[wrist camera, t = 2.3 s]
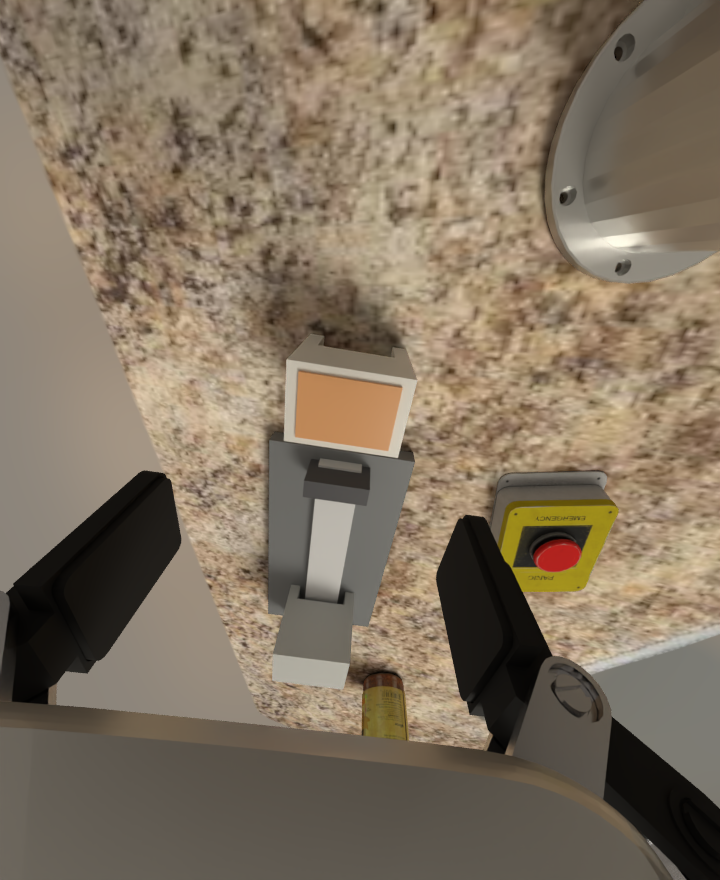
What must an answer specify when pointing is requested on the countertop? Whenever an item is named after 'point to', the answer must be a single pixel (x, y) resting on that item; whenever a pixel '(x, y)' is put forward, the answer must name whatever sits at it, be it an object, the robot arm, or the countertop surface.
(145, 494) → the robot arm
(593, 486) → the emergency button
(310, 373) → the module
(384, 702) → the sauce bottle
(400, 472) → the rail board
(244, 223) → the countertop surface
